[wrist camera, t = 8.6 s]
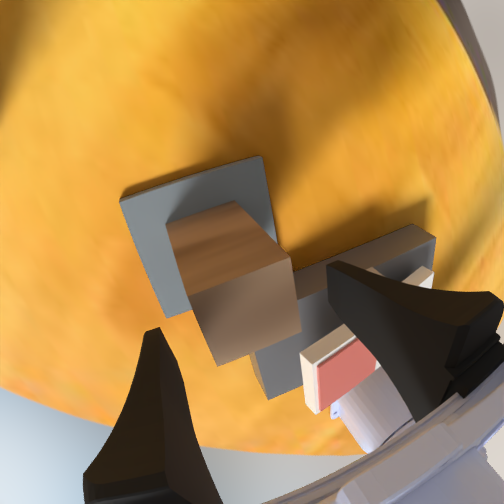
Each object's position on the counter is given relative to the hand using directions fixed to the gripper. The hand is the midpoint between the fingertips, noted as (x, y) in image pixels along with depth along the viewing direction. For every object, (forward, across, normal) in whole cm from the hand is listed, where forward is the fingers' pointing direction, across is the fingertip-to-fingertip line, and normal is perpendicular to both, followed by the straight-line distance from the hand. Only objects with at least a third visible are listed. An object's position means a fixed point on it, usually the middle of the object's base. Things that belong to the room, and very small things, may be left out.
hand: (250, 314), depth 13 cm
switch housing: (+7, -8, +9) cm, 14 cm away
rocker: (+3, -8, +9) cm, 13 cm away
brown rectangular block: (+7, 0, 0) cm, 7 cm away
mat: (+7, 0, 0) cm, 7 cm away
